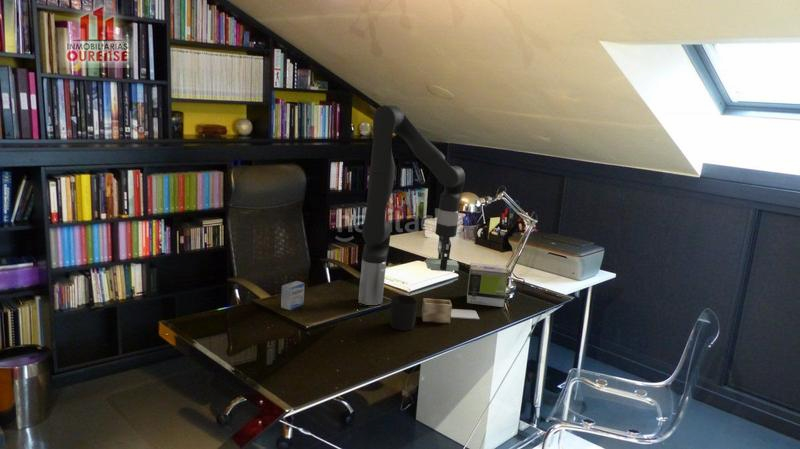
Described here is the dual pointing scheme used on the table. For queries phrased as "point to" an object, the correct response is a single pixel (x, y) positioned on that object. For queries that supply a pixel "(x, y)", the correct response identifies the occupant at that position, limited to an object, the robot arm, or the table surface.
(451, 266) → the lid
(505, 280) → the tea box
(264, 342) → the table surface
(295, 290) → the medicine box
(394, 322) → the pen holder
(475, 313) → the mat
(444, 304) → the box
